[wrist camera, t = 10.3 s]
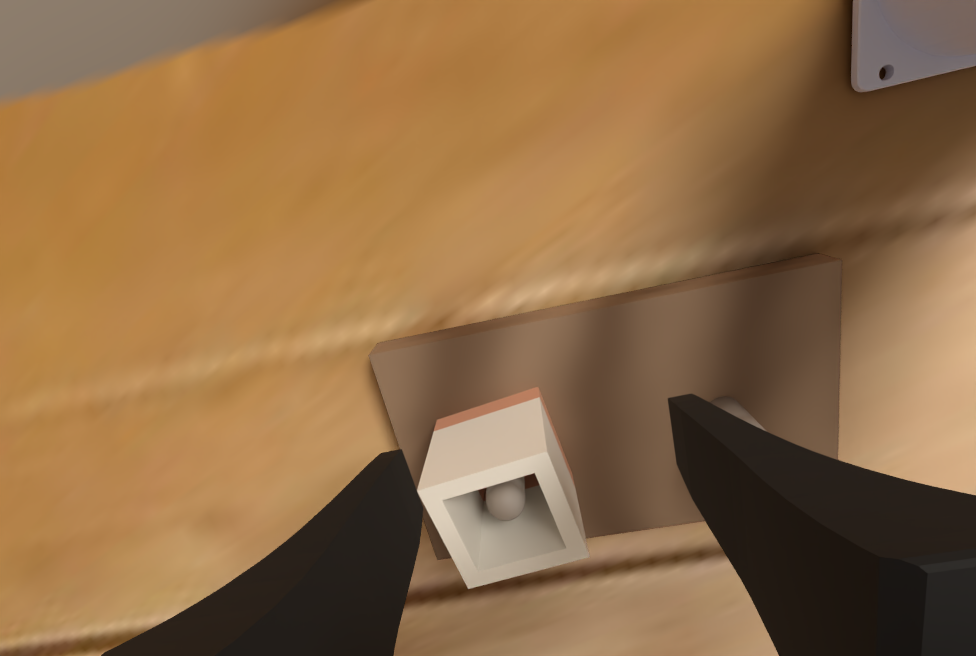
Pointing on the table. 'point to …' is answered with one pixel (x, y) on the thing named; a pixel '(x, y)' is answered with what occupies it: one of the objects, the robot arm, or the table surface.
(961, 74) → the table surface
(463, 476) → the sleeve
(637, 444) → the pin board
